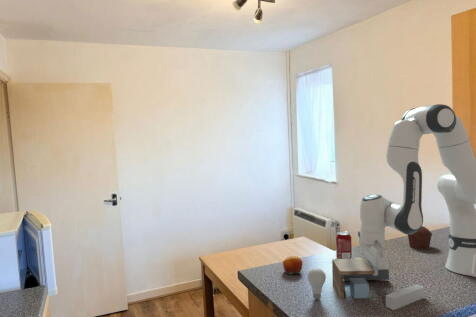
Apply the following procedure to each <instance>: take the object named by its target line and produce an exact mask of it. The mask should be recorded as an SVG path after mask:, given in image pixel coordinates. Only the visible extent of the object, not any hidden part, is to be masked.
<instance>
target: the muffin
mask: <svg viewBox="0 0 476 317" xmlns="http://www.w3.org/2000/svg"><path fill="white" fill-rule="evenodd" d="M406 235H407V237H408V238H407V239H408V244H409V247H410V248H413V249H418V250H428V249H430V245H431V240H432V236H433V233H432V232H431V230H429V229H428V228H427V227H425V226H423V225H422V226H421V228H420V229H419V230H418V231H417V232H415V233H414V234H410V235H408V234H406Z"/></svg>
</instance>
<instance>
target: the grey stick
mask: <svg viewBox="0 0 476 317" xmlns="http://www.w3.org/2000/svg"><path fill="white" fill-rule="evenodd" d="M422 298H423V299H425V286H424V285H419V284H417V283H416V284H413V285H410V286H407V287H404V288H402V289H399V290H396V291H394V292H391V293H388V294H386V295H385V307H387V308H388V309H391V310H392V311H395V310H398V309H401V308H403V307H405V306H407V305H410V304H413V303H414V302H417V300H418V301H420V300H422Z"/></svg>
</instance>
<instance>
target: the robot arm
mask: <svg viewBox="0 0 476 317" xmlns="http://www.w3.org/2000/svg"><path fill="white" fill-rule="evenodd" d="M430 134H433V135H434V137H435V141H436V144H437V149H438V152H439V156H440V158H441V162H442V165H443V166H444V167H445V168H446V169H448V171H450V173H449V172H448V173H445V174H442V175H441V176H440V177H439V179H438V180H437V184H436V185H437V186H436V187H437V190H438V192H439V193H440V195H441V196H442V197H443V199H444V201H445V204H446V207H447V210H448V214H449V216H448V217H449V233H448V247H449V248H448V254H447V258H446V263H445V266H444V267H445V268H446V269H447V270H449V271H451V272H453V273H456V274H459V275H465V276H469V277H473V278H476V207H475V205H476V156H475V154H474V151H473V147H472V145H471V141H470V138H469V135H468V132H467V130H466V127H465V125H464V123H463V121H462V120H461V118H460V117H459V116H457V115H456V113H455V110H453V109H452V107H451V106H449V105H447V104H442V103H441V104H440V103H436V104H428V105H422V106H420V107H414V108H411V109H409V110H407V111H406V112H405V113H404V114H403V115H402V117H401V119H400V120H398V121H396V122H395V123H394V124H393V126H392V129H391V132H390V135H389V137H388V144H387V148H386V154H385V155H386V162H387V164H388V166H389V167H390V168H391V169H392V170H393V171H394V172H396V173H397V174H398V175H399V176H400V177H401V180H402V181H403V200H402V201H403V202H402V204H401V203H399V202H395V201H392V200H390V199H389V200H388V199H386V198H385V197H383V196H382V195H381V194H376V193H375V194H368V195H365V196H363V197H362V199H361V202H360V206H359V219H360V229H359V230H358V231H357V236H358V241H359V251H360V253H361V255H362V256H363V257H364V258H365V259H366V262H367V263H368V264H369V265H370V266H371V267H373V269H374V270H375V274H373V275H374V276H377V275H378V270H385V269H386V268H388V262H387V261H388V260H387V259H388V258H387V252H386V249H385V248H384V247H383V245H385V243H386V237H385V236H386V235H385V234H386V233H385V232H386V229H385V228H386V227H389V228H392V229H394V230H397V231H399V232H401V233H403V234H405V235H407V234H408V235H410V234H414V233H415V232H417V231H418V230H419V229H420V228H421V226H423V223H424V214H423V210H422V207H423V206H422V199H423V196H422V194H423V190H422V189H423V171H422V167H421V165H420V163H419V150H420V144H421V143H420V142H421V139H422V137H423V135H430ZM474 204H475V205H474ZM408 235H407V236H408Z"/></svg>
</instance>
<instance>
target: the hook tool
mask: <svg viewBox="0 0 476 317" xmlns="http://www.w3.org/2000/svg"><path fill="white" fill-rule="evenodd" d="M372 268H373V267H372ZM389 270H390V269H389V268H388V267H387V268H386V269H385V270H378V275H377V276H374V275H373V274H353V275H344V293H346V286H345V284H346V283H345V282H346V281H347V282H350V279H358V278H364V279H365V280H366V281H385V280H386V281H387V280H390V271H389Z"/></svg>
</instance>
